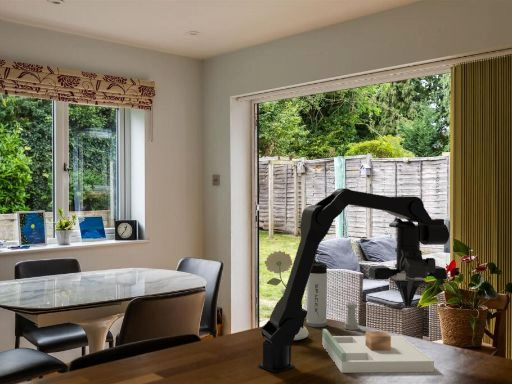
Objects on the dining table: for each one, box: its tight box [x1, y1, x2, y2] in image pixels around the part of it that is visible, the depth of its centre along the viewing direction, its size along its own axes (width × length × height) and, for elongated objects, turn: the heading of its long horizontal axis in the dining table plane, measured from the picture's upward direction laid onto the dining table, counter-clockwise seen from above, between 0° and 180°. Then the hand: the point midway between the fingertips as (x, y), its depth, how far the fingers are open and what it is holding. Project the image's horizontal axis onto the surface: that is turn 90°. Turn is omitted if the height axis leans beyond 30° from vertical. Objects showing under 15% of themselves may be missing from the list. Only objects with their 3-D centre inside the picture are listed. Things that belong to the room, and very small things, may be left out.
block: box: [365, 330, 392, 350], centre depth 140 cm, size 5×5×4 cm
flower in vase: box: [264, 250, 309, 341], centre depth 158 cm, size 13×11×25 cm
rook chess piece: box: [343, 301, 359, 331], centre depth 170 cm, size 4×4×8 cm
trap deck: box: [321, 328, 435, 374], centre depth 140 cm, size 22×23×4 cm
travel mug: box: [305, 261, 328, 328], centre depth 174 cm, size 6×7×20 cm
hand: (407, 306), depth 141 cm, fingers closed
